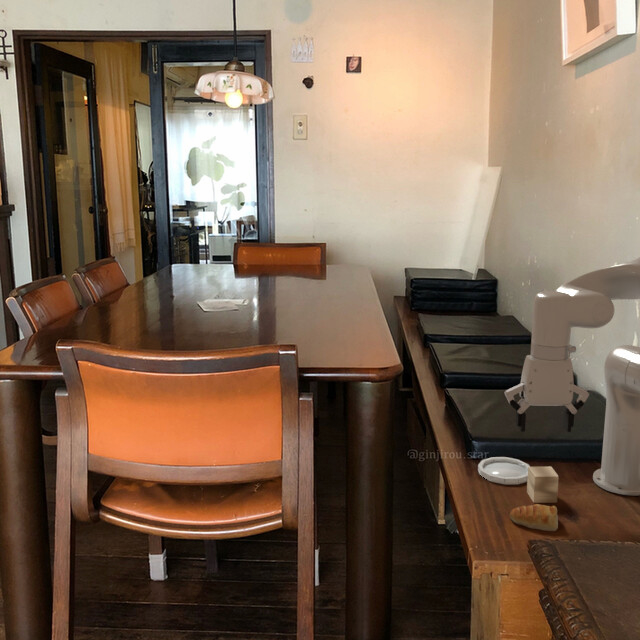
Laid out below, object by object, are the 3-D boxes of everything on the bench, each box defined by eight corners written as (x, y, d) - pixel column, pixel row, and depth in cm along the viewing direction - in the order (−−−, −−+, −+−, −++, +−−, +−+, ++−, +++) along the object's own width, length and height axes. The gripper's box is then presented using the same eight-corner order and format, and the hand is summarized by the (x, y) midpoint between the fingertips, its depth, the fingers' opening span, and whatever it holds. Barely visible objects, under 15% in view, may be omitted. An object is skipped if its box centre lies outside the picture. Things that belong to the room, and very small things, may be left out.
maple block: (549, 491, 152) (551, 466, 151) (557, 502, 147) (558, 476, 146) (526, 492, 152) (528, 466, 151) (533, 502, 147) (534, 476, 146)
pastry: (509, 528, 137) (510, 510, 137) (509, 512, 144) (510, 495, 143) (559, 534, 135) (560, 516, 134) (556, 517, 141) (557, 500, 141)
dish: (523, 462, 167) (523, 456, 167) (538, 484, 155) (538, 478, 155) (473, 462, 167) (473, 457, 167) (484, 484, 156) (484, 479, 155)
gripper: (585, 347, 146) (578, 423, 150) (503, 346, 146) (498, 423, 150) (598, 356, 139) (591, 436, 142) (512, 356, 139) (507, 436, 143)
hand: (543, 429), depth 146 cm, fingers open, 9 cm apart
